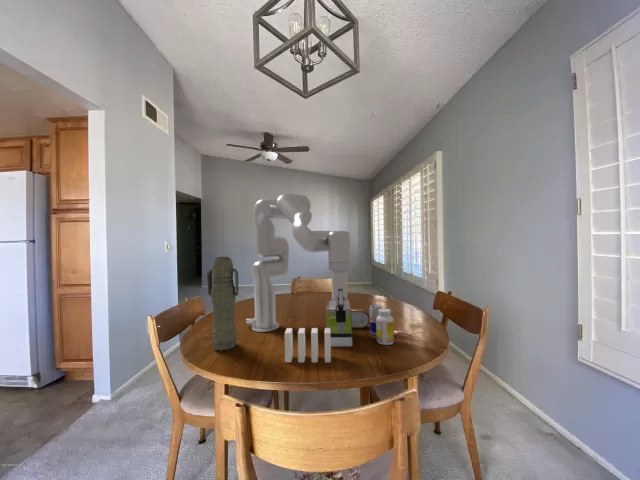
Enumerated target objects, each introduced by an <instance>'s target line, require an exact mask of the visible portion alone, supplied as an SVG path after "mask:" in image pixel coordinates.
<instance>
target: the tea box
mask: <svg viewBox="0 0 640 480" xmlns="http://www.w3.org/2000/svg"><path fill="white" fill-rule="evenodd" d="M350 302H351V301H350V300H349V299H347V301H345V310H346V322H344V331H338V322H336V301H334V302H333V301H332V300H327V301H326V309H325V316H326V317H325V318H326V321H325V322H326V328H330V336H331V348H332V347H336V348H337V347H352V346H353V328H352V314H351V309H352V308H351V306H352V305H351V303H350Z"/></svg>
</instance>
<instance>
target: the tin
mask: <svg viewBox="0 0 640 480" xmlns="http://www.w3.org/2000/svg"><path fill="white" fill-rule="evenodd" d="M351 314H352V329H364V328H366V327H368V326H369V325H370V316H369V311H367V310H365V309H363V308H351Z"/></svg>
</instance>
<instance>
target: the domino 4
mask: <svg viewBox="0 0 640 480" xmlns="http://www.w3.org/2000/svg"><path fill="white" fill-rule="evenodd" d="M323 332H324V335H323V336H324V363H331V362H332V355H331V354H332V353H331V351H332V346H331V336H330V328H327V327H325V328H324V331H323Z"/></svg>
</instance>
